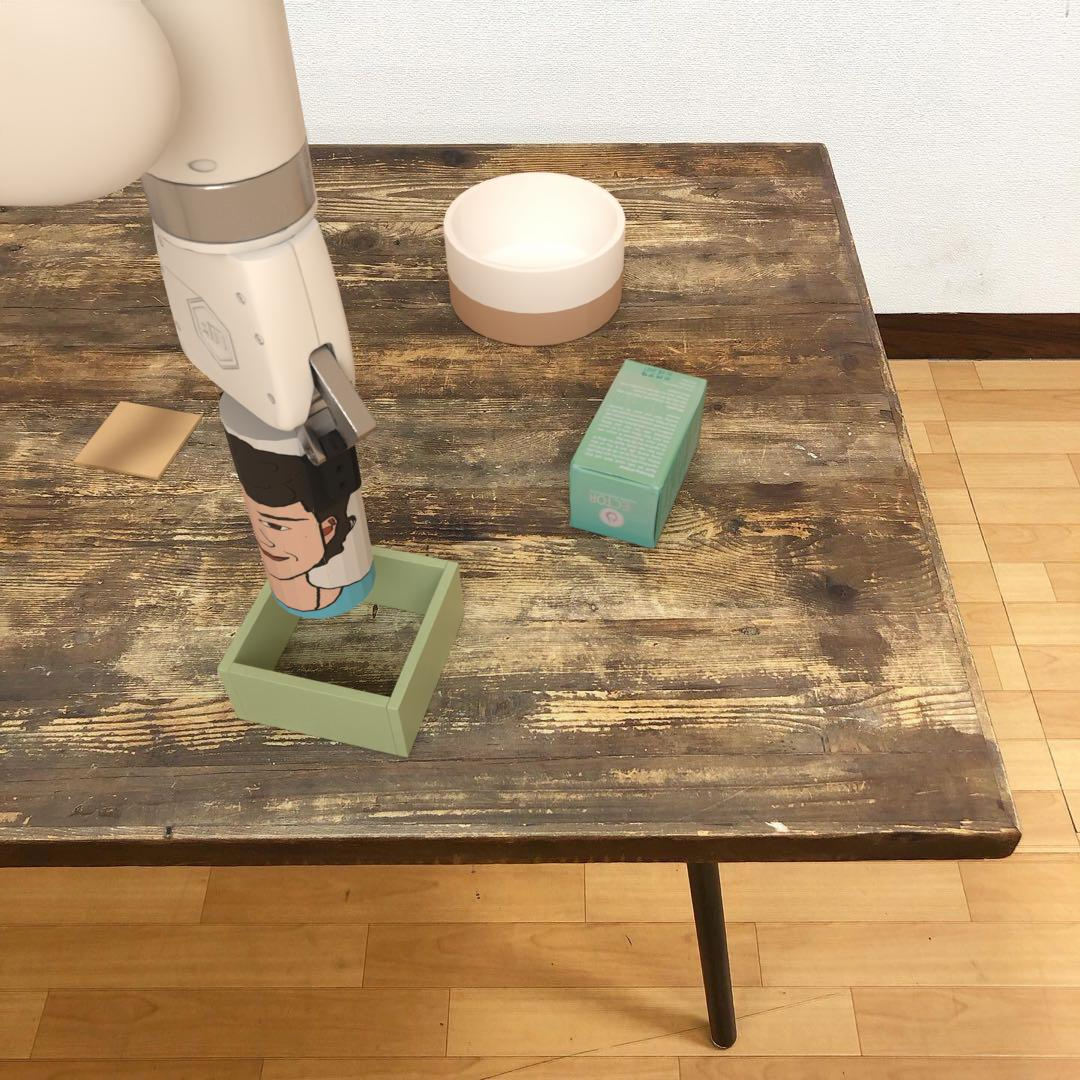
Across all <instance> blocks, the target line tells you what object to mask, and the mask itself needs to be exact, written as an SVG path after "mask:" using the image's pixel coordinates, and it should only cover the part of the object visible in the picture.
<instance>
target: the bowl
mask: <svg viewBox="0 0 1080 1080" xmlns="http://www.w3.org/2000/svg"><path fill="white" fill-rule="evenodd" d="M626 225H627V218H626V215H625V212H624V208H623V207H622V205H621V204H620V202H619V201H618V199H617V198H616V197H615V196H613V194H611V193H610V191H608V190H606V189H605V188H604V187H601V186H600V185H598V184H596V183H594V182H592V181H589V180H586V179H584V178H581V177H577V176H573V175H569V174H566V173H565V174H564V173H557V172H550V171H549V172H544V171H531V172H530V171H529V172H527V171H526V172H516V173H509V174H505V175H500V176H496V177H493V178H489V179H486V180H484V181H482V182H480V183H477V184H475V185H473V186H470V187H469V188H468V189H466V190H464V191H463V192H462V193H460V194H459V195H457V197H456V198H455V199H454V200H453V201H452V202H451V203H450V205H449V206H448V208H447V210H446V211H445V214H444V217H443V221H442V227H443V238H444V248H445V249H444V250H445V258H446V269H447V274H448V287H449V295H450V304H451V306H452V308H453V311H454V313H455V315H456V316H457V317H458V318H459V319H460V321H461V322H462V323H463V324H464V325H465V326H467V327H468V328H469V329H471V330H472V331H473V332H475V333H477V334H479V335H481V336H483V337H485V338H488V339H491V340H493V341H496V342H500V343H504V344H510V345H516V346H524V347H525V346H526V347H527V346H529V347H541V346H555V345H559V344H564V343H568V342H572V341H576V340H579V339H580V338H584V337H586V336H588V335H590V334H592V333H593V332H596V331H597V330H599V329H601V327H603V326H605V324H606V323H608V322H609V321H610V320H611V319H612V317H613V316H614V315H615V314H616V313H617V311H618V309H619V306H620V304H621V302H622V299H623V298H622V297H623V296H622V295H623V280H624V279H623V278H624V277H623V276H624V266H625V265H624V264H625V263H624V262H625V245H626V244H625V243H626V227H627V226H626Z"/></svg>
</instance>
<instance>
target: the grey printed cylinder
mask: <svg viewBox="0 0 1080 1080" xmlns="http://www.w3.org/2000/svg"><path fill="white" fill-rule="evenodd" d="M223 391H224V390H223ZM223 391H222V392H223ZM317 393H319V392H318V391H317V389H316V387H315V386H314V391H313V395H315V394H317ZM218 408H219V418H220V420H221V424H222V428H223V430H224V434H225V438H226V441H227V444H228V447H229V452H230V455H231V458H232V461H233V465H234V468H235V473H236V476H237V478H238V481H239V486H240V489H241V491H242V496H243V499H244V502H245V506H246V509H247V513H248V517H249V520H250V523H251V527H252V529H253V532H254V536H255V540H256V542H257V546H258V547H257V548H258V550H259V553H260V557H261V560H262V564H263V567H264V570H265V574H266V578H267V579H268V581H269V584H270V587H271V591H272V594H273V596H274V597H275V599H276V601H277V603H278V604H279V605H280V606H281V607H283V608H284V609H285V610H286V611H288V612H289V613H291V614H294V615H297V616H300V617H301V618H303V619H317V620H322V619H327V618H332V617H338V616H340V615H342V614H345V613H347V612H349V611H352V610H353V609H355V608H356V607H357V606H359V605H360V604H361V603H363V602H362V601H363V600H365V598H366V597H367V595H368V594H369V593H370V591H371V590H372V588H373V585H374V581H375V577H376V572H375V566H374V560H373V555H372V549H371V546H372V544H371V539H370V532H369V528H368V527H369V526H368V522H367V515H366V510H365V504H364V499H363V494H362V488H361V487H362V486H361V487H360V488H359V489H358V490H357V491H355V492H354V493H352V494H351V495H349V496H347V497H346V498H344V499H343V500H341V501H340V502H338V503H336V504H335V505H333V506H332V507H330V508H329V509H327V510H325V511H324V512H322V513H317V512H316V511H315V510H313V509H312V508H311V506H310V502H309V498H308V493H307V489H306V485H305V481H304V476H303V472H302V468H301V463H300V458H301V457H302V456H303V455H304V454H306V453H305V451H304V449H303V447H302V445H301V443H300V441H299V439H298V436H297V434H296V432H295V430H292V431H283V430H279V429H276V428H274V427H272V426H270V425H268V424H267V423H265V422H264V421H262V420H261V419H260V418H258V417H257V416H256V415H254V414H253V413H252V412H251V411H249V410H248V409H247V408H246V407H244V406H243V405H242V404H240V403H239V402H238V401H237V400H235V399H234V398H233V397H232V396H230V395H229V394H228V393H227V392H225V391H224V392H223V394H222V397H221V399H220V398H219V401H218ZM309 420H310V422H311V424H312V426H313V428H314V430H315V432H316V435H317V437H318V439H319V438H320V437H322V436H324V435H325V434H327V433H329V432H330V431H332V430H334V429H335V427H336V426H335V424H334V421H333V419H332V417H331V415H330V412H329V410H328V408H326V409H324V410H322V411H321V412H319V413H317V414H315V415H314V416H312V417H310V418H309Z"/></svg>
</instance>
